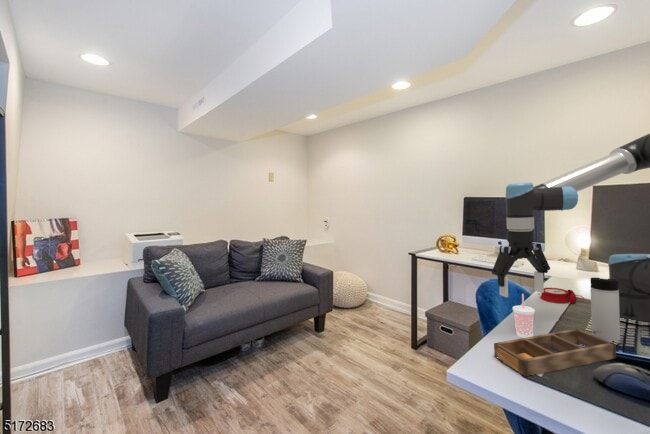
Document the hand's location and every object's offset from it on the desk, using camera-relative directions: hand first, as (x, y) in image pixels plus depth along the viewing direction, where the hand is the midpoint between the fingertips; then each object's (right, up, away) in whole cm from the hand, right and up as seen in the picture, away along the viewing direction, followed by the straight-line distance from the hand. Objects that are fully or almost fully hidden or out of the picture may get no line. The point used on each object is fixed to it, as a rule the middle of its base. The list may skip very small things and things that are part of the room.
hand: (521, 293), depth 96 cm
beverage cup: (+1, -14, +1) cm, 14 cm away
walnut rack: (0, -15, -13) cm, 20 cm away
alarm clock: (+36, -11, +29) cm, 48 cm away
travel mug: (+21, -13, -7) cm, 26 cm away
